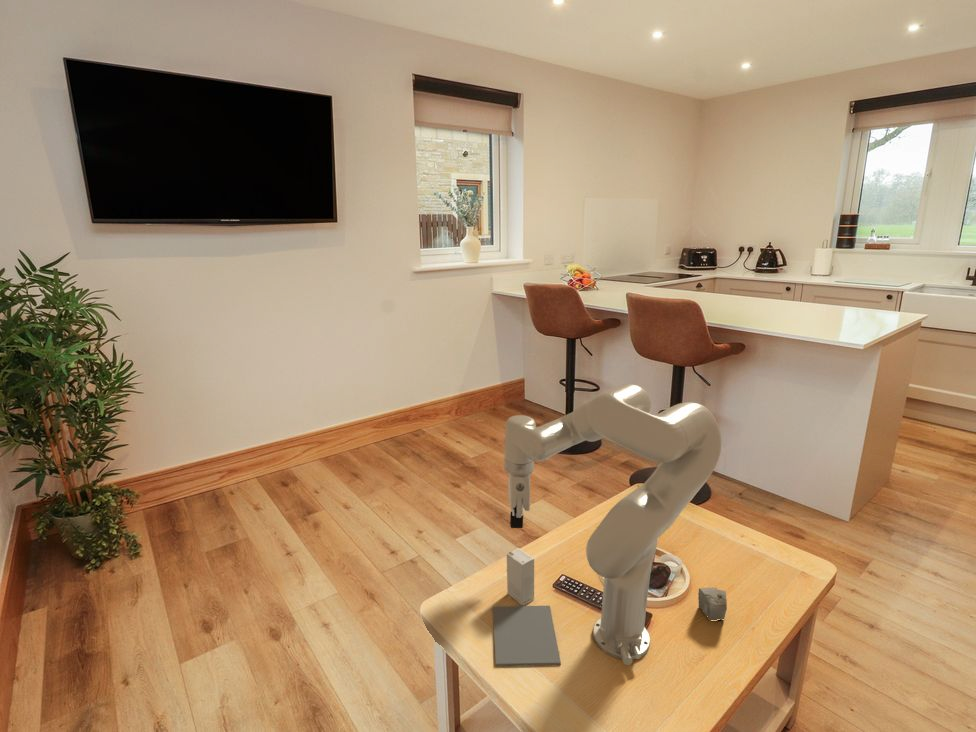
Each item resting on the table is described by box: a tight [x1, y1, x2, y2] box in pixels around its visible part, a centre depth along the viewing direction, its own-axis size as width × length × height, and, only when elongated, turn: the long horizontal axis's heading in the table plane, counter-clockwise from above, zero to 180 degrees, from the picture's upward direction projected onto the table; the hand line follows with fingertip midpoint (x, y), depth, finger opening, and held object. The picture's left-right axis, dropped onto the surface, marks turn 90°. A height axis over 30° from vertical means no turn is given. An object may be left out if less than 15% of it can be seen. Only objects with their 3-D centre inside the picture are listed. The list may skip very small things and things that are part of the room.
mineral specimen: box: [697, 587, 728, 621], centre depth 125 cm, size 7×9×8 cm
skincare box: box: [506, 547, 535, 606], centre depth 131 cm, size 6×4×12 cm
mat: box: [492, 605, 562, 667], centre depth 120 cm, size 17×14×1 cm
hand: (516, 526), depth 138 cm, fingers closed
